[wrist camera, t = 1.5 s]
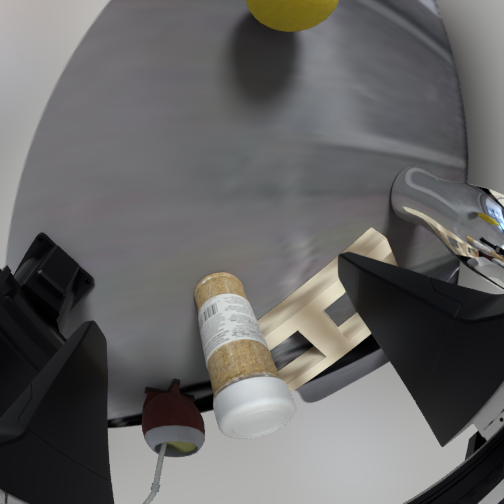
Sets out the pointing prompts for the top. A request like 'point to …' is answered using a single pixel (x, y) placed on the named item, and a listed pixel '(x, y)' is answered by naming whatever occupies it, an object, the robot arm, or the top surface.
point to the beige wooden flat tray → (321, 316)
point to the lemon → (291, 13)
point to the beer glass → (455, 218)
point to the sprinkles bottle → (239, 362)
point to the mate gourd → (171, 426)
